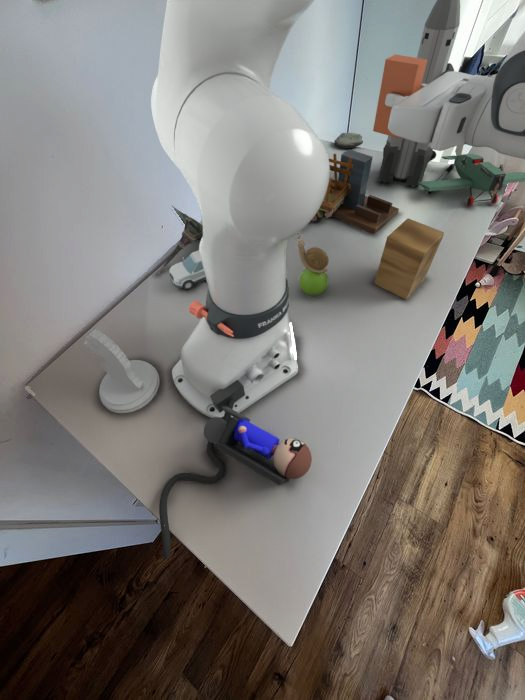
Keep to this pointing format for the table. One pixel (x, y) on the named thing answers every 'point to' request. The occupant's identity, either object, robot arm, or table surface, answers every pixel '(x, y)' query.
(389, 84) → the back pad
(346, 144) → the stone
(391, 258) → the block
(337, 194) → the toy truck
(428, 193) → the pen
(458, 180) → the toy airplane
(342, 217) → the pad mount
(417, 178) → the toy rocket
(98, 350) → the white curved piece
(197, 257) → the toy car
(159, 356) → the table surface
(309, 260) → the snail figurine
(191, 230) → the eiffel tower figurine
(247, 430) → the character figurine
